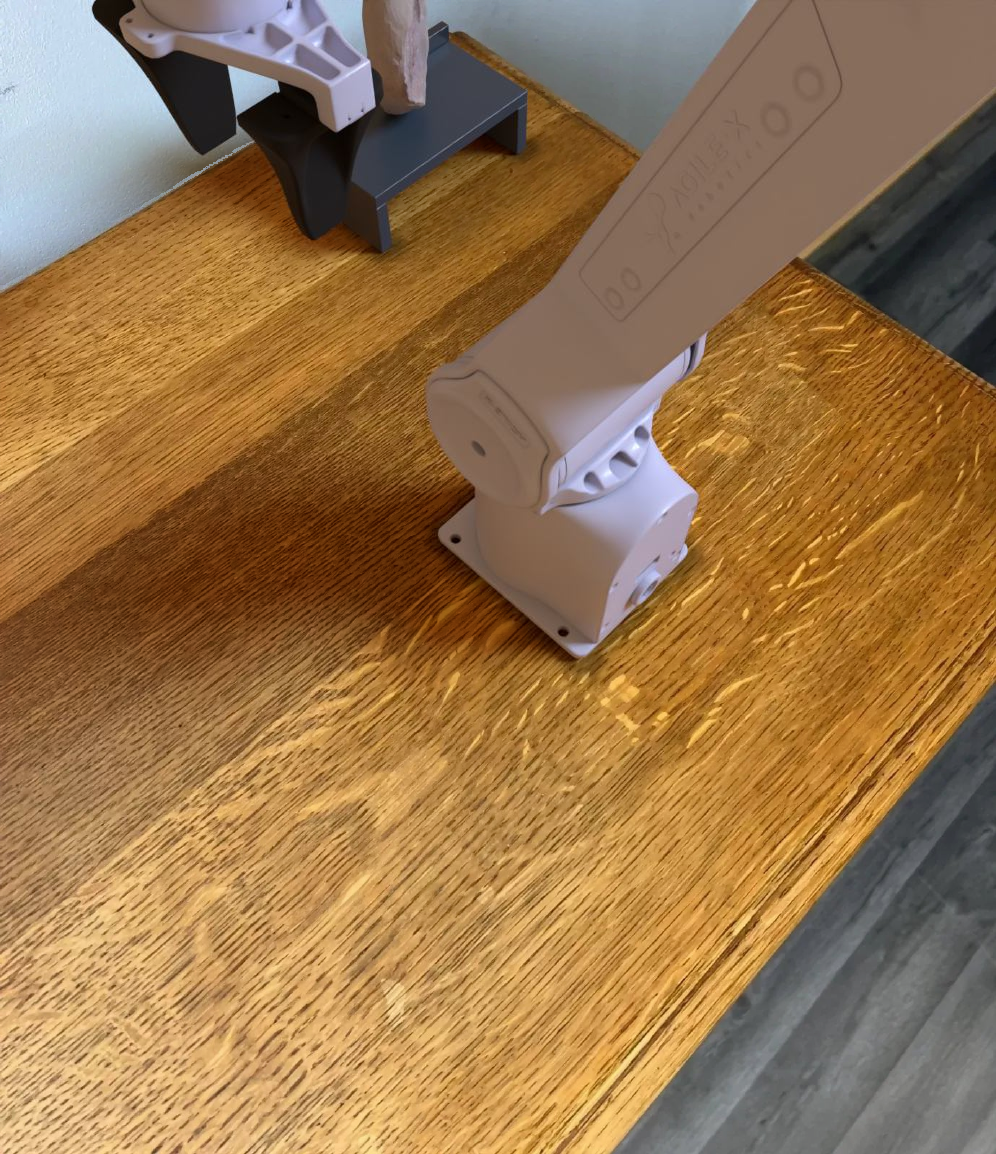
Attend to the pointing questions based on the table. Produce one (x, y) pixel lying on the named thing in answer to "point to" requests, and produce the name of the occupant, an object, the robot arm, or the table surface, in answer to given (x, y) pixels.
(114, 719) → the table surface
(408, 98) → the fossil
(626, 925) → the table surface
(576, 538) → the robot arm
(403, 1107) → the table surface
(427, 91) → the shelf
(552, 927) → the table surface
